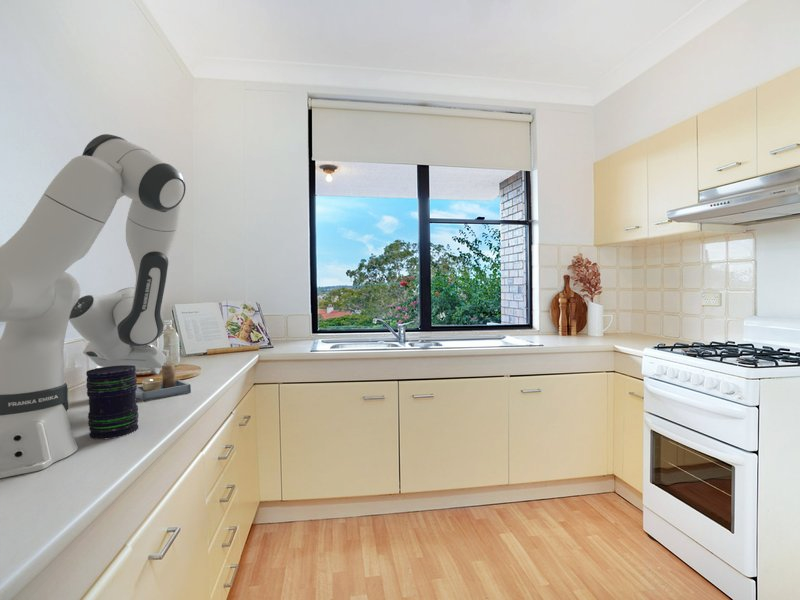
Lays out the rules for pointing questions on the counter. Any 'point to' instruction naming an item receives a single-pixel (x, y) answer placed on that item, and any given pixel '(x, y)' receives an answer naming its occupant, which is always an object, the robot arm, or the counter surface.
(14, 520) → the counter surface
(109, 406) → the dark blue cylinder
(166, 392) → the tray
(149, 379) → the silver dome cap
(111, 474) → the counter surface
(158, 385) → the oak block
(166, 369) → the brown wooden peg
